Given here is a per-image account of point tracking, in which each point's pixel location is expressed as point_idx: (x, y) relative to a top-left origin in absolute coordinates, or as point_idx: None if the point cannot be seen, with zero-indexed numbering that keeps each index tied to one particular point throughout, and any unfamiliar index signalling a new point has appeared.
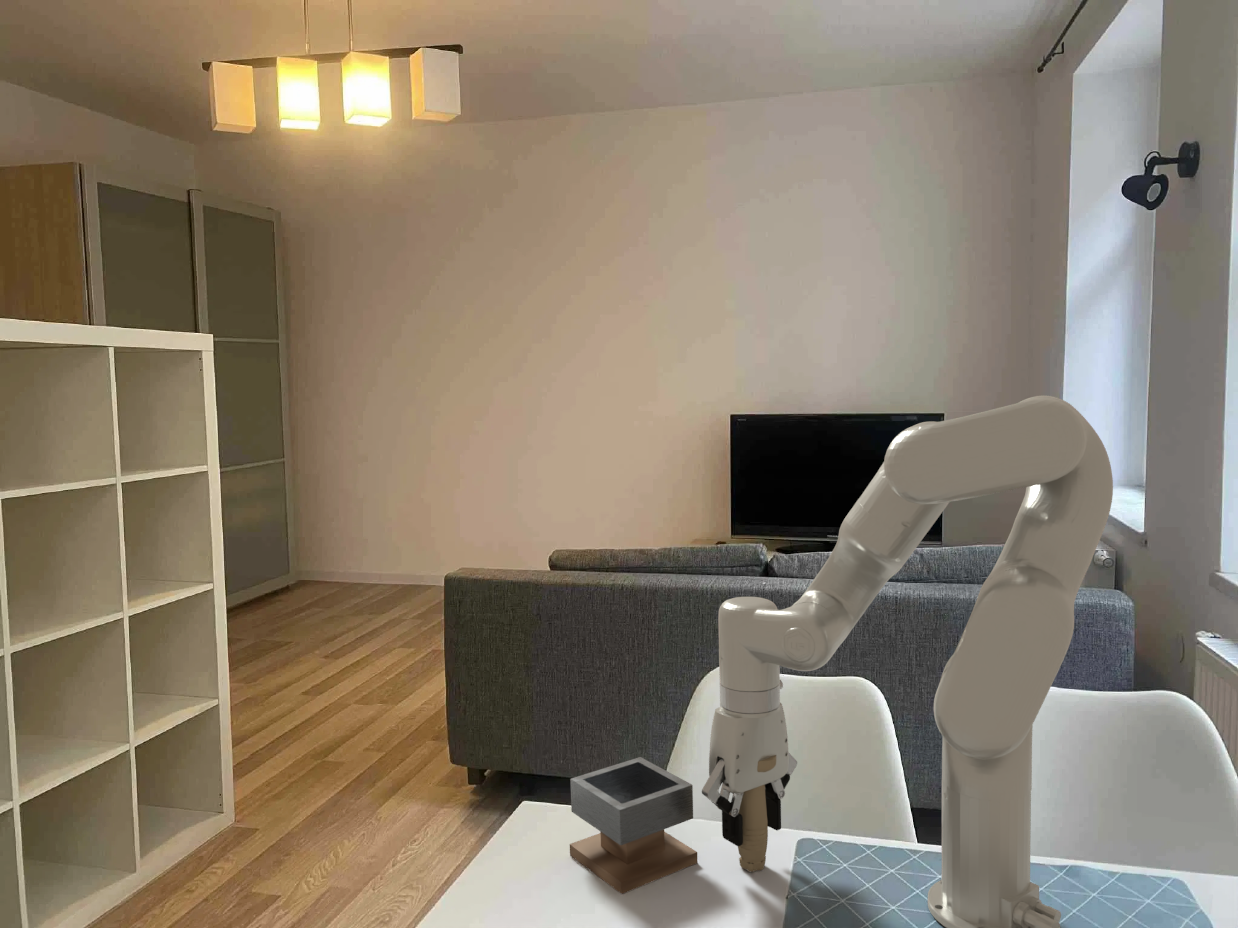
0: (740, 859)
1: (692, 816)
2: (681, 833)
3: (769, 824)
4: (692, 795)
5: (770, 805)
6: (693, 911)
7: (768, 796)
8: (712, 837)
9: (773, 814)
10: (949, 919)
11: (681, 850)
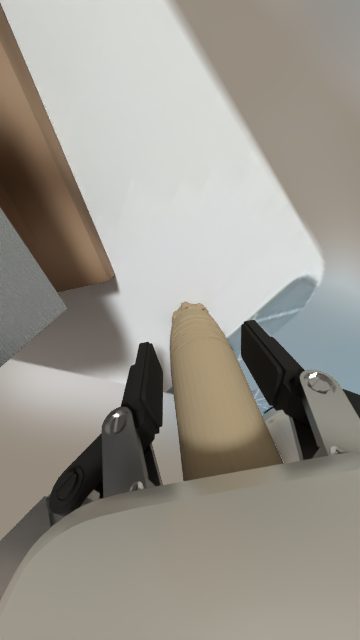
0: (172, 321)
1: (61, 311)
2: (116, 113)
3: (242, 345)
4: (4, 361)
5: (264, 381)
6: (79, 365)
7: (281, 390)
8: (181, 189)
9: (253, 373)
10: None
11: (77, 261)
